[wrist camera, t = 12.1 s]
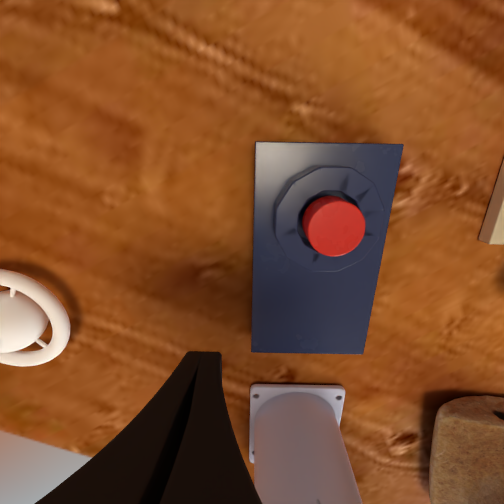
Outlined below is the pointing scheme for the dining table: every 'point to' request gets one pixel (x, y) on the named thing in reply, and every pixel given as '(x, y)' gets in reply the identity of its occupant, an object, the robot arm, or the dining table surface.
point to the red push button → (333, 225)
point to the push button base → (305, 256)
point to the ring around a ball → (29, 320)
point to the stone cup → (468, 452)
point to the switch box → (495, 214)
